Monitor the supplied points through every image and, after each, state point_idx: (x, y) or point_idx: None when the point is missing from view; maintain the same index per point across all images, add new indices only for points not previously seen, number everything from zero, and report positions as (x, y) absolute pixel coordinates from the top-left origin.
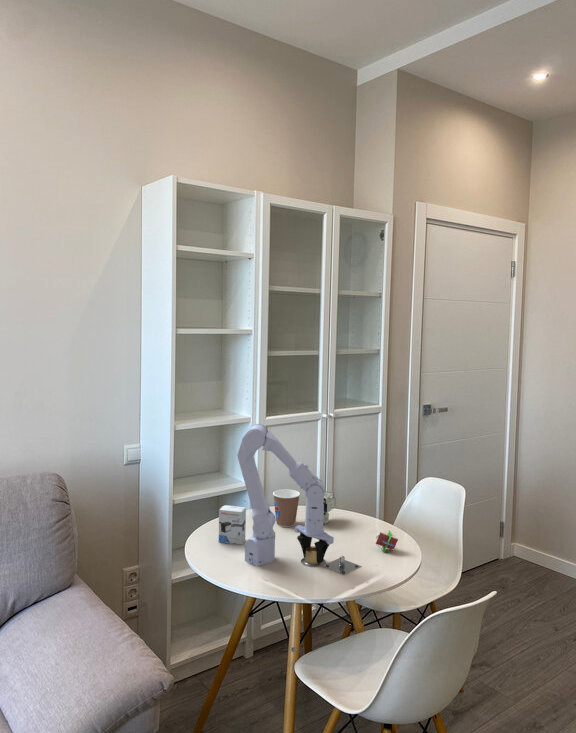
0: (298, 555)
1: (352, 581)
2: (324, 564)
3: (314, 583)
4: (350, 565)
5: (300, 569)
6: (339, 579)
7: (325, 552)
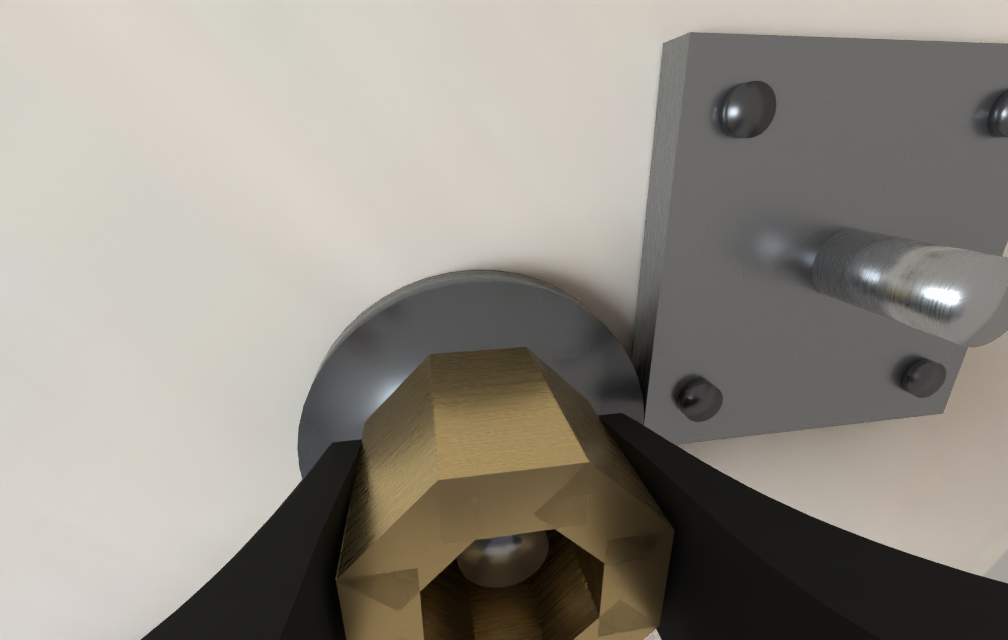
0: (87, 383)
1: (992, 382)
2: (642, 397)
3: None
4: (931, 153)
5: None
6: (878, 443)
7: (737, 482)
